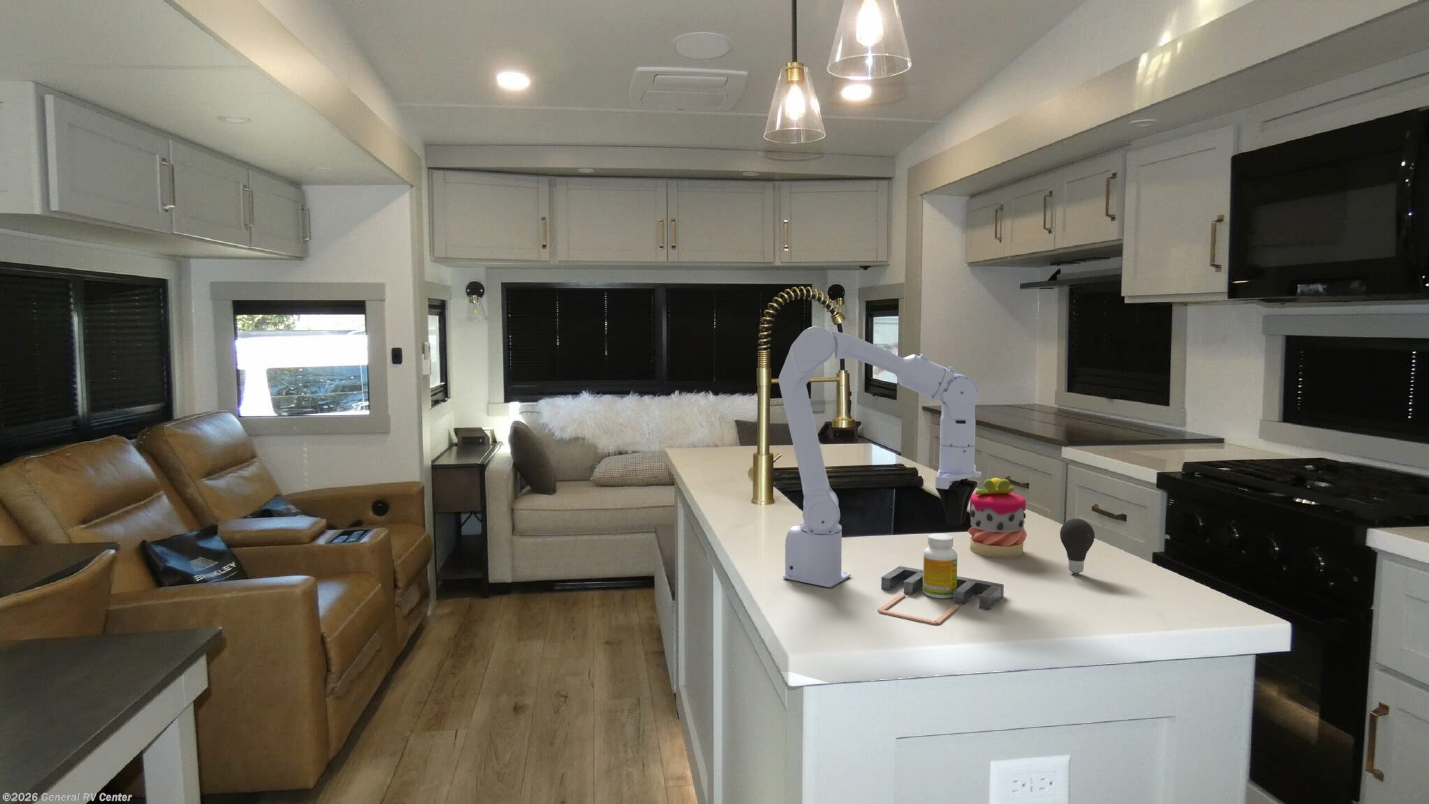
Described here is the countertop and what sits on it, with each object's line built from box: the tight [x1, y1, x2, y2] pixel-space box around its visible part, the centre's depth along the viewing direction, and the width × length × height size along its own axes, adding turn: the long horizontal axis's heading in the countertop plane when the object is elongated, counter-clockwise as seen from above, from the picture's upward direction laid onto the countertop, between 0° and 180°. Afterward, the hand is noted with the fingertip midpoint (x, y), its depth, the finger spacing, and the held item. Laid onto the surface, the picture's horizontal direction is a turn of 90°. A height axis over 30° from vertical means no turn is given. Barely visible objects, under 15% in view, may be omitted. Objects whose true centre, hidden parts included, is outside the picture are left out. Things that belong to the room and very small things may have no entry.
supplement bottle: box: [922, 533, 958, 600], centre depth 133 cm, size 5×5×10 cm
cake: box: [967, 477, 1028, 559], centre depth 158 cm, size 10×11×15 cm
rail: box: [880, 565, 1005, 611], centre depth 134 cm, size 18×8×2 cm, turn 54°
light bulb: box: [1059, 518, 1096, 576], centre depth 143 cm, size 6×6×10 cm
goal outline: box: [877, 593, 961, 626], centre depth 126 cm, size 10×9×1 cm
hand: (955, 523), depth 138 cm, fingers closed
